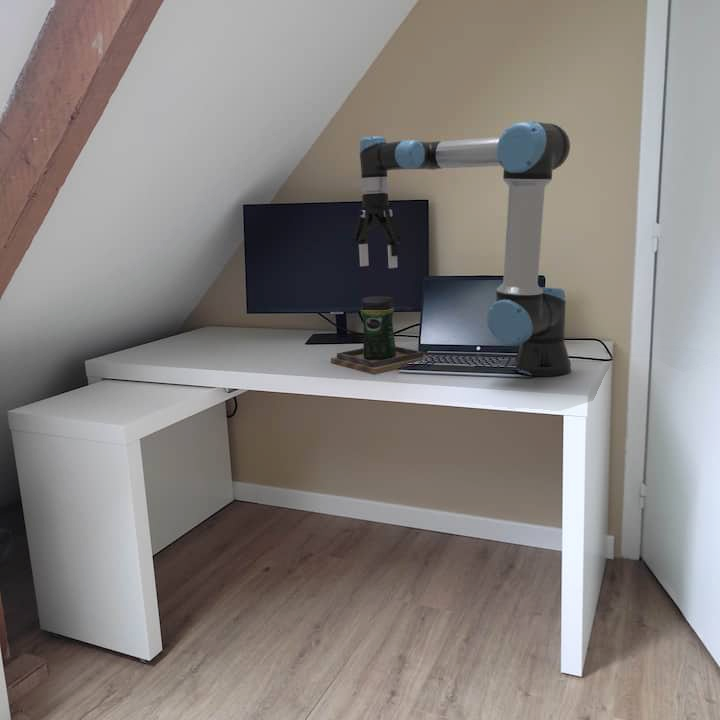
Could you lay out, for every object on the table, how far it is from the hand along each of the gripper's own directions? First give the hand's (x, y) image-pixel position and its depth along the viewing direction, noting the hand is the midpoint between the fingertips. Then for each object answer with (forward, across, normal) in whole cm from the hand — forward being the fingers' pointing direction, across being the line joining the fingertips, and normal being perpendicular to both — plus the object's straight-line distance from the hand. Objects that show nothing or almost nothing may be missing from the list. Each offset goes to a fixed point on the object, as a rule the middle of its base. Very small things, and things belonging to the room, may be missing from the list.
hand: (378, 267), depth 215 cm
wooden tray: (+29, 0, +1) cm, 29 cm away
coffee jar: (+27, 0, +1) cm, 27 cm away
